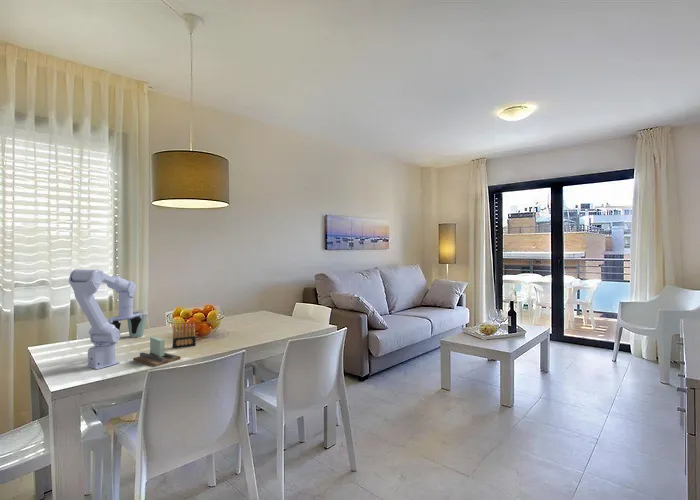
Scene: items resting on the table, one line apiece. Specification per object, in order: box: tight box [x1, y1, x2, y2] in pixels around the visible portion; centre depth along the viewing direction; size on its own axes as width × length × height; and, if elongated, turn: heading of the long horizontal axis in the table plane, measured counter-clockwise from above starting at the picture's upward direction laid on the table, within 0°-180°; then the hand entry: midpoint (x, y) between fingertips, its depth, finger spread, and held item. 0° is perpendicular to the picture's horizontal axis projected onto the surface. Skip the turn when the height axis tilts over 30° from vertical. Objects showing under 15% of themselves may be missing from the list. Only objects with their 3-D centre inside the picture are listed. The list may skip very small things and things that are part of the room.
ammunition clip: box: [172, 322, 197, 349], centre depth 185 cm, size 11×2×12 cm, turn 120°
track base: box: [132, 352, 181, 368], centre depth 164 cm, size 12×16×3 cm
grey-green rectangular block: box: [149, 335, 165, 357], centre depth 163 cm, size 2×10×7 cm, turn 51°
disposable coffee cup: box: [126, 309, 149, 339], centre depth 204 cm, size 11×11×15 cm
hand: (125, 335), depth 170 cm, fingers open, 7 cm apart
